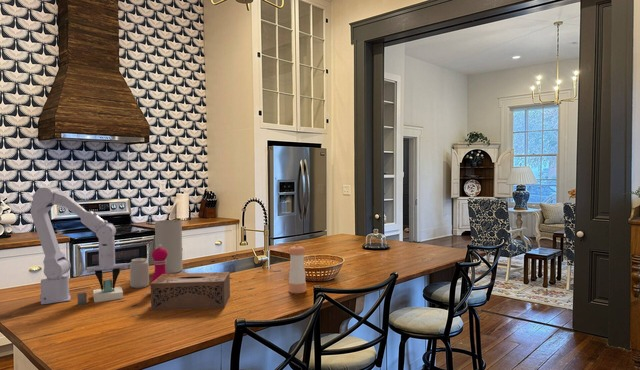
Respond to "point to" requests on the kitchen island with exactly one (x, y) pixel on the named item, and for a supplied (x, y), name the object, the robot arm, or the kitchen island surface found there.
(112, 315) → the kitchen island surface
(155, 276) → the pepper mill
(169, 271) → the cylinder vase
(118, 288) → the hole block
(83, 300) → the short dowel
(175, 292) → the tissue box cover
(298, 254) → the pepper shaker
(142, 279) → the can
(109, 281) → the long dowel
